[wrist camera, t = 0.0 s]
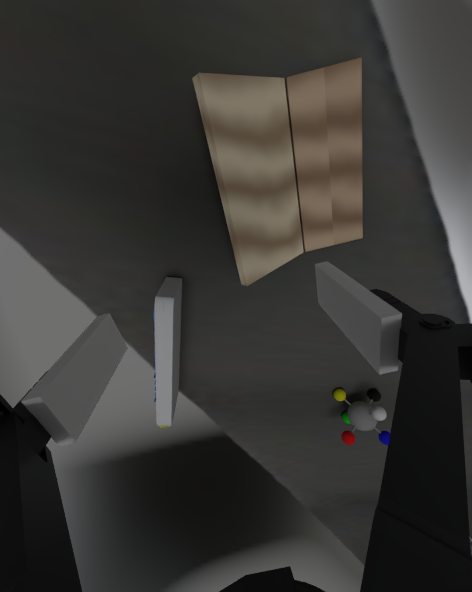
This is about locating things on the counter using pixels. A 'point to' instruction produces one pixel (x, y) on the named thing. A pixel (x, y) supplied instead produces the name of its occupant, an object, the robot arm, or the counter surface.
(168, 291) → the decorative sign
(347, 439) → the molecular model
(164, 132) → the counter surface
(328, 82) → the floor strip
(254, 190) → the plank
